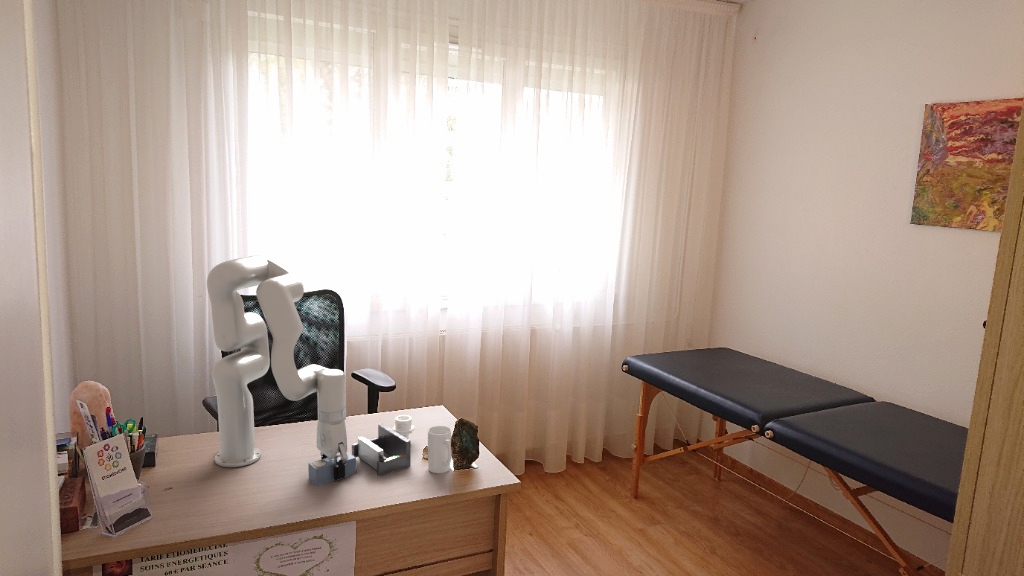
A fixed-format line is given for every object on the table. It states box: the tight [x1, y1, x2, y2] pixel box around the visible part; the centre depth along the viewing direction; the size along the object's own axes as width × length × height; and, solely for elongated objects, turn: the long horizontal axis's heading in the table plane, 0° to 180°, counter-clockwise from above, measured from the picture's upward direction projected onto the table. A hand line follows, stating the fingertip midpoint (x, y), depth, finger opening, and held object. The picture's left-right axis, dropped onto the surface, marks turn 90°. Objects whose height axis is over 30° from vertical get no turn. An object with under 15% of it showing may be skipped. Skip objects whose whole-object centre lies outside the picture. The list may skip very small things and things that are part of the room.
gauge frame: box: [351, 423, 412, 477], centre depth 194 cm, size 10×16×8 cm, turn 41°
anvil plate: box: [357, 436, 387, 471], centre depth 191 cm, size 2×15×6 cm, turn 41°
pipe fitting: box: [391, 414, 415, 440], centre depth 208 cm, size 6×7×8 cm
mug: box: [427, 425, 452, 474], centre depth 189 cm, size 10×7×12 cm, turn 34°
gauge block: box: [307, 451, 361, 487], centre depth 185 cm, size 5×14×5 cm, turn 132°
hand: (333, 473), depth 185 cm, fingers open, 6 cm apart
